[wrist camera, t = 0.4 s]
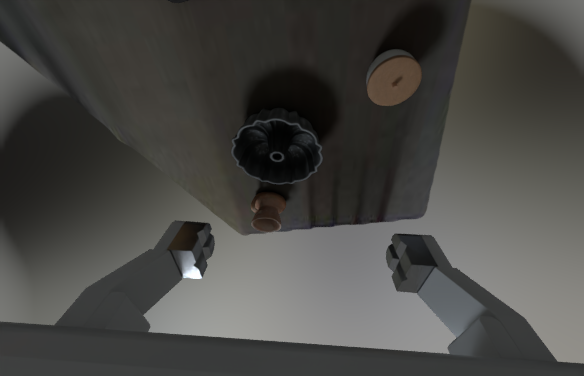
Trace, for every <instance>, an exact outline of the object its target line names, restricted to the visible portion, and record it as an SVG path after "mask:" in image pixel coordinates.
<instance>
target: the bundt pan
mask: <svg viewBox="0 0 584 376" xmlns="http://www.w3.org/2000/svg"><path fill="white" fill-rule="evenodd" d="M232 143H233V147H232V150H231V152H232V156H233V157H234V159H235V160H236V161H237V166H239V167H241V168H243V170H244V172H245V173H246V174H248V175H249V176H251V177H254V178H258V179H259V180H260V181H262V182H269V183H272V184H285V183H289V184H293V183H294V182H296V181H302V180H305V179H307V178H308V177H309V176H310V175H311V174H312V173H315V172H317V167H318V166H319V165H320V164H321V162H322V160H323V156H322V153H321V150H322V145H321V144H320V142H319V138H318V135H317V132H316V131H315V130H313V129H312V125H311V123H310V122H309V121H308V120H307V119H305V118H303V117H299V115H298V113H297V112H296V111H292V112H288V111H287V110H285V109H283V108H274V109H272V110H271V111H270V110H267V109H265V108H264V109H262V110H261V111H260V113H259V114H253V115H251V116H250V117H249V118H248V119H247V120H246V122H245V124H244V125H243V126H242V127H241V128H240V129H239V131H238V133H237V135H236V136H235V137H234V138H233V139H232Z"/></svg>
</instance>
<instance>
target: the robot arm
mask: <svg viewBox="0 0 584 376" xmlns="http://www.w3.org/2000/svg"><path fill="white" fill-rule="evenodd" d="M210 232H211V226H210V224H209V223H201V222H189V221H174V222H172V224H171V225H170V226H169V228H168V229H167V231H166V232H165V233H164V235H163V236H162V238H161V239H160V241H159V242H158V244H157V245H156V246H155V248H154V249H153V250H152V249H150V250H148V251H146V252H145V253H143V254H141V255H140V256H138V257H137V258H135V259H133V260H132V261H130V262H128V263H127V264H125V265H123V266H122V267H120V268H118V269H117V270H115V271H114V272H112V273H110V274H109V275H107V276H105V277H104V278H102V279H101V280H99V281H97V282H95V283H94V284H92V285H91V286H89V287H87V288H86V289H85V290H84V291H83V292H82V293H81V295H80V296H79V297H78V298H77V299H76V300H75V302H74V303H73V304H72V305H71V306H70V308H69V309H68V310H67V311H66V312H65V313H64V315H63V316H62V317H61V318H60V319H59V321H58V322H57V323H56V324H55V325H39V324H26V323H12V322H0V376H584V364H581V363H568V362H557V360H556V359H555V358H554V356H553V355H552V354H551V352H550V351H549V350H548V348H547V347H546V346H545V344H544V343H543V342H542V340H541V339H540V338H539V336H537V334H536V333H535V331H534V330H533V328H532V327H531V326H530V324H529V323H528V322H527V321H526V319H525V318H524V317H522V316H521V315H520V314H518V313H517V312H515V311H514V310H513V309H512V308H510V307H509V306H507V305H506V304H505V303H503V302H502V301H501V300H499V299H497V298H496V297H495V296H494V295H492V294H491V293H490V292H488V291H487V290H485V289H484V288H483V287H481V286H480V285H479V284H477V283H476V282H474V281H473V280H472V279H470V278H469V277H468V276H466V275H465V274H464V273H462V272H461V271H460V270H458V269H457V268H452V266H451V264H450V263H449V261H448V260H447V258H446V256H445V255H444V253H443V252H442V250H441V248H440V247H439V245H438V244H437V242H436V240H435V239H434V237H432V236H431V235H412V234H394V235H393V236H392V239H391V240H392V243H393V244H391V245H390V246H388V248H387V251H386V260H387V264H388V267H389V268H390V269H391V270H392V271H393V272H394V273H393V275H392V279H393V282H394V284H395V287H396V290H397V291H401V292H412V293H417V294H418V295H419V297H420V298H421V299H422V300H423V301H424V302H425V303H426V304H427V305H428V306H429V307H430V309H431V310H432V311H433V312H434V313H435V314H436V315H437V316H438V317H439V318H440V319H441V321H442V322H443V323H444V324H445V325H446V326H447V327H448V328H449V329H450V330H451V332H452V333H453V334H454V335H455V336H456V337H457V338H456V339H455V340H454V341H453V342H452V343H451V344H450V345H449V346H448V350H449V353H450V354H443V353H429V352H415V351H401V350H387V349H374V348H360V347H345V346H332V345H318V344H305V343H290V342H277V341H263V340H249V339H235V338H221V337H208V336H192V335H179V334H166V333H152V332H148V331H149V329H150V324H149V323H148V321H147V320H146V319H145V317H144V316H143V315H144V314H145V313H146V312H147V311H148V310H149V309H150V308H151V307H152V306H154V305H155V304H156V303H157V302H158V301H159V300H160V299H161V298H162V297H163V296H164V295H165V294H166V293H168V292H169V291H170V290H171V289H172V288H173V287H174V286H175V285H176V284H177V283H179V281H181V280H182V278H202V277H203V274H204V272H205V270H206V268H207V262H206V260H207V259H208V258H210V257H211V256H212V253H213V250H214V244H215V243H214V236H213V235H212V234H210Z"/></svg>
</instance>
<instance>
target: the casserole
mask: <svg viewBox="0 0 584 376" xmlns="http://www.w3.org/2000/svg"><path fill="white" fill-rule="evenodd" d="M168 1H170V2H174V3H181V2H185V1H188V0H168Z"/></svg>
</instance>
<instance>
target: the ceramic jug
mask: <svg viewBox="0 0 584 376" xmlns="http://www.w3.org/2000/svg"><path fill="white" fill-rule="evenodd" d="M285 207H286V201H285V199H284V198H283V197H282V196H281V195H279V194H277V193H274V192H261V193H259V194H257V195H256V196H255V197H254V199H253V201H252V203H251V209H252V211H253V212H255V213H256V214H255V216H254V218H253V220H252V226H253V227H254V228H255V229H256V230H259V231H262V232H274V231H278V230H280V228H281V220H280V216H279V213H281V212H282V211H283V210H284V209H285Z"/></svg>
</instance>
